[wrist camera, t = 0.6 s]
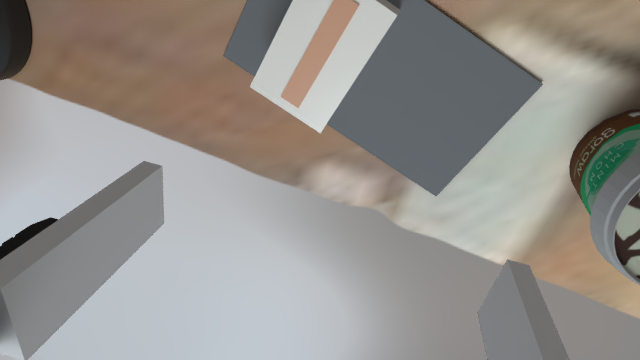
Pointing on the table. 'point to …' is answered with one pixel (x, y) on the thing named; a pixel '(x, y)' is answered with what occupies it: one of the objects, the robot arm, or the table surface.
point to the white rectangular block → (321, 54)
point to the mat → (411, 89)
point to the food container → (612, 189)
